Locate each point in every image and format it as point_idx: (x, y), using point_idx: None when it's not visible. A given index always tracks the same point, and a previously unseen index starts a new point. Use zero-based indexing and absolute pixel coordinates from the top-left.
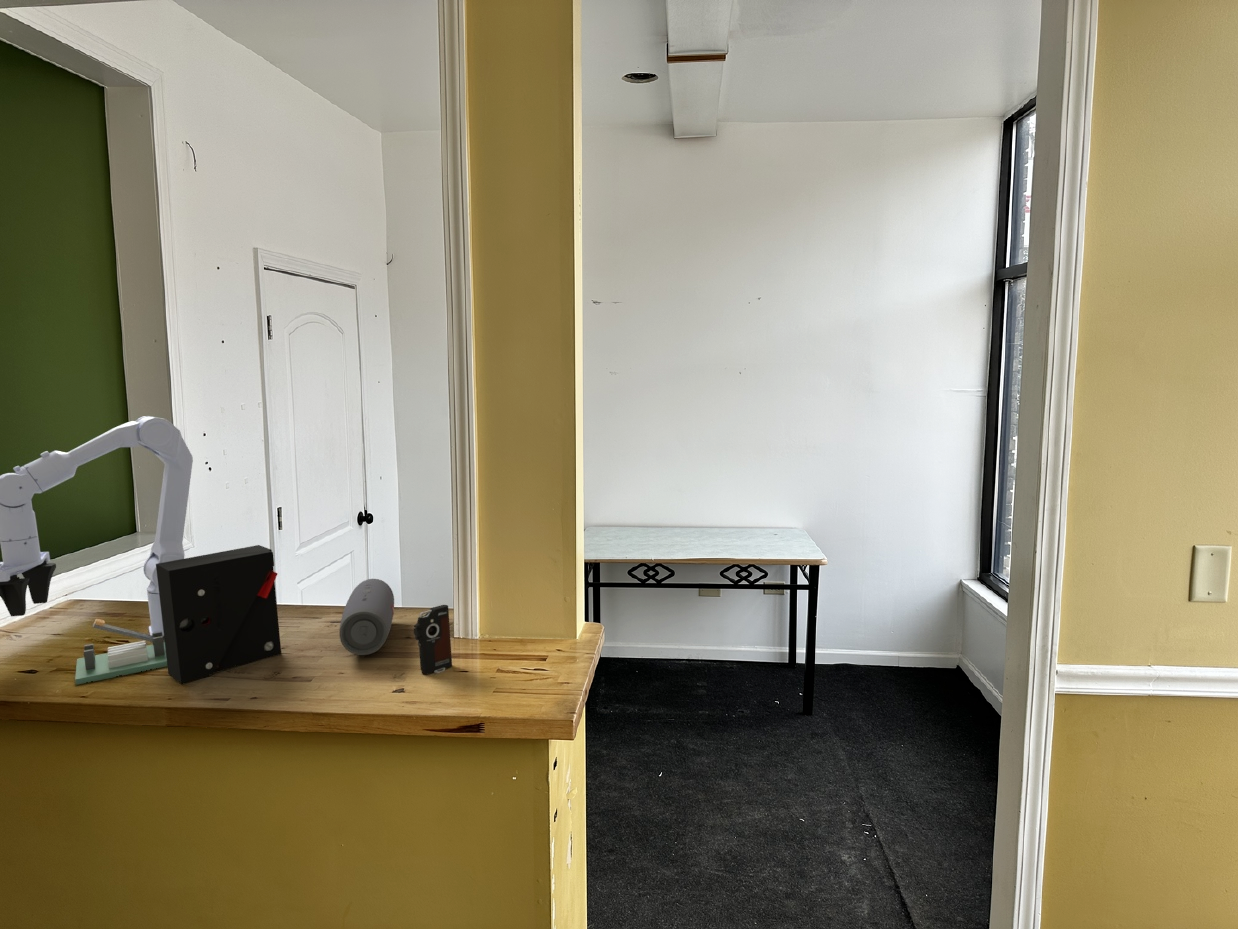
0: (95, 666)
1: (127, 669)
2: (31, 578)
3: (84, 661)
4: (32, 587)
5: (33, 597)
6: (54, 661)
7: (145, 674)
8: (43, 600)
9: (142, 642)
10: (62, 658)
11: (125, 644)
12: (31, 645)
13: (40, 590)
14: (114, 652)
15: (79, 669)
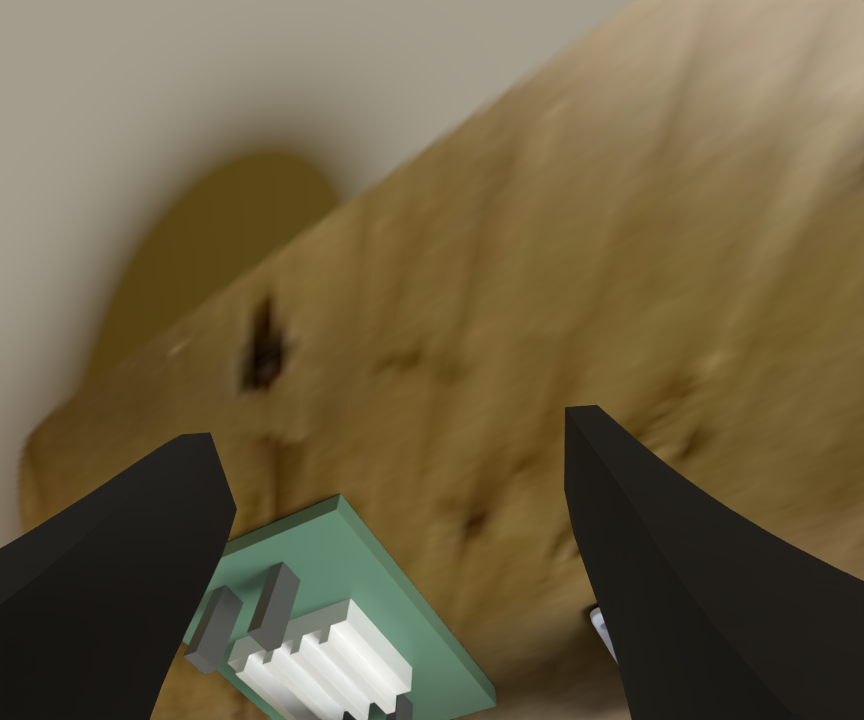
0: (250, 600)
1: (231, 681)
2: (675, 653)
3: (302, 548)
4: (624, 532)
5: (581, 450)
6: (384, 387)
7: (240, 698)
8: (567, 497)
9: (380, 707)
10: (420, 400)
11: (358, 677)
12: (696, 96)
13: (600, 564)
14: (275, 675)
15: (220, 569)
